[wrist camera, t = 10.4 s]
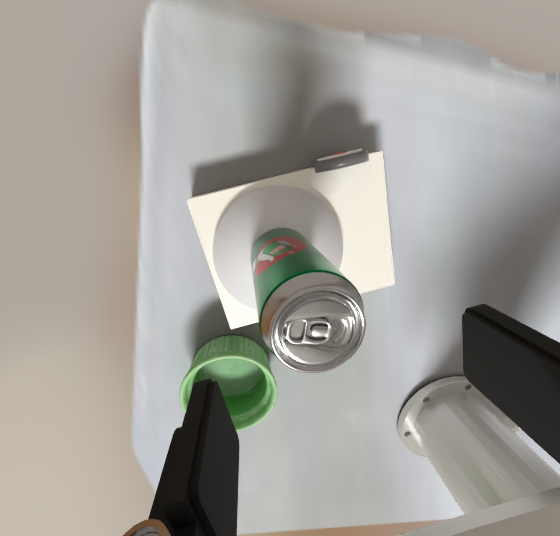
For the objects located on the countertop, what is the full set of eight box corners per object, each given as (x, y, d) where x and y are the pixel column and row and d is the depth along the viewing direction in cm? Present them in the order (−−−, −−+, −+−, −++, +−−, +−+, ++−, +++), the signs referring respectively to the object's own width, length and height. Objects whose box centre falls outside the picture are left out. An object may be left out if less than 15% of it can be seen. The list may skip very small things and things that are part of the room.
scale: (368, 144, 24) (394, 139, 20) (382, 275, 29) (406, 292, 25) (189, 189, 24) (178, 193, 19) (231, 316, 28) (230, 342, 24)
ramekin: (205, 317, 28) (199, 343, 24) (286, 344, 30) (293, 371, 26) (176, 387, 30) (165, 421, 26) (253, 406, 32) (255, 441, 28)
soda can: (304, 286, 25) (360, 381, 13) (247, 282, 24) (254, 380, 12) (314, 229, 23) (386, 283, 12) (253, 223, 22) (268, 273, 11)
